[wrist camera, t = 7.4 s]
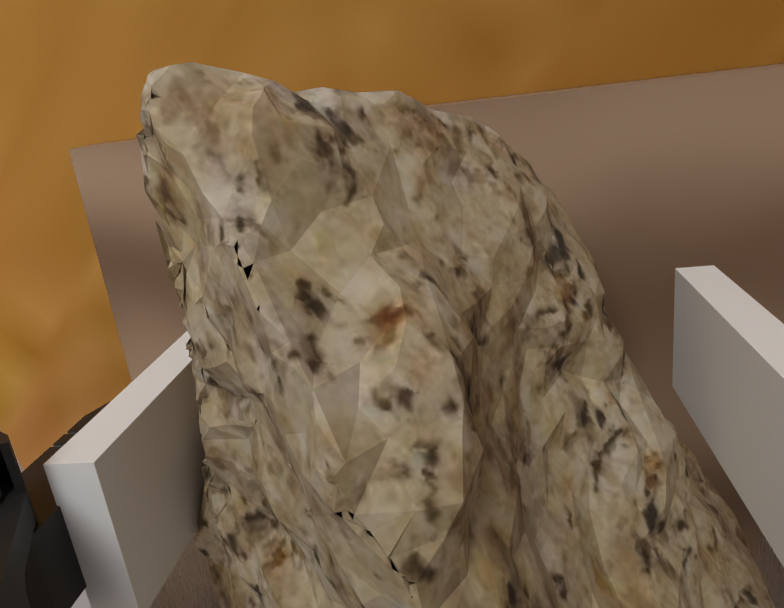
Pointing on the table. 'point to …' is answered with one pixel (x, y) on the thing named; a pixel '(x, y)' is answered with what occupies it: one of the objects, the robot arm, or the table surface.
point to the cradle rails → (200, 604)
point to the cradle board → (578, 199)
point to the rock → (411, 368)
